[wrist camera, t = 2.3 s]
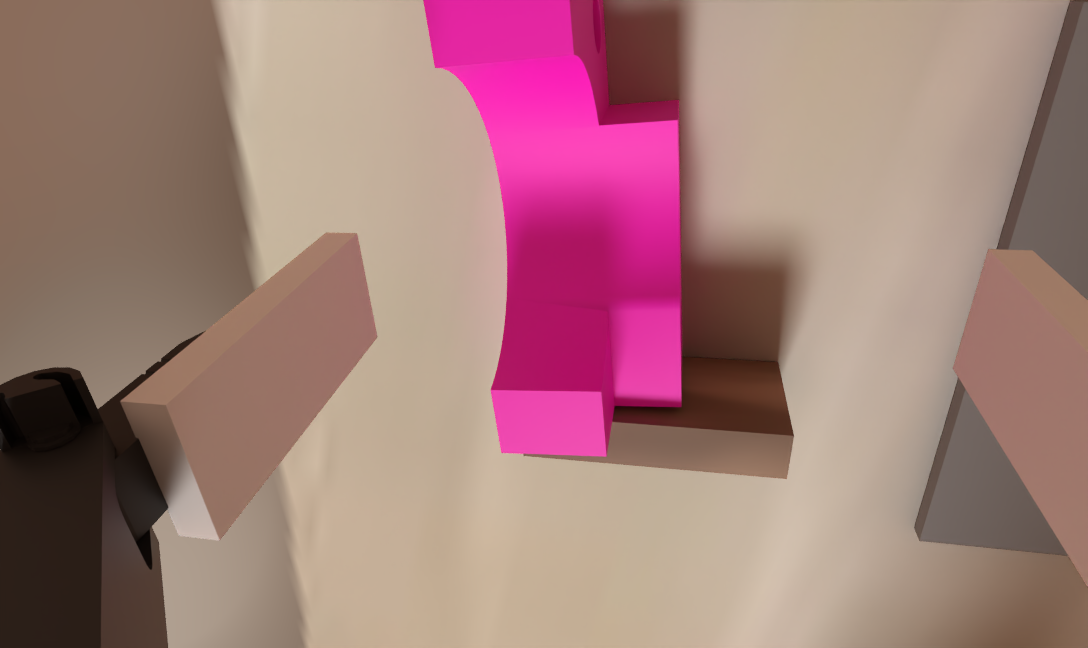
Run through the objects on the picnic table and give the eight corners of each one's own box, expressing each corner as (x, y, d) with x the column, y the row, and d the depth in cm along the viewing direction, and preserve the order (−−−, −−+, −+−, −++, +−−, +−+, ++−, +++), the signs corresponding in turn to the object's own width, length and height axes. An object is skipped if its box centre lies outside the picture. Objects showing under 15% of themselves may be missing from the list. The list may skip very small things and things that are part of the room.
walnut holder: (772, 401, 29) (786, 478, 25) (546, 385, 31) (523, 455, 27) (858, -203, 19) (906, -247, 15) (517, -173, 21) (473, -204, 17)
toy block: (682, 346, 29) (680, 459, 23) (541, 346, 30) (501, 452, 24) (676, -49, 22) (672, -48, 16) (494, -26, 23) (420, -17, 17)
